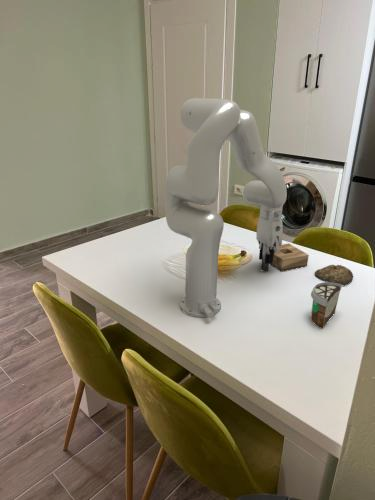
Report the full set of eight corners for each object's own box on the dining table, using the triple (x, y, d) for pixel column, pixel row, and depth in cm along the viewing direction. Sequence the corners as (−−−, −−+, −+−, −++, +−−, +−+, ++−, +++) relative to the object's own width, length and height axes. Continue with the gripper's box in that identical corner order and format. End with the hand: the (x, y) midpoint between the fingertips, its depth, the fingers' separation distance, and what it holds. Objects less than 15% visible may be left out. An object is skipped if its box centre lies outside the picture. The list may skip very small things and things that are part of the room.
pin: (270, 270, 139) (273, 243, 135) (263, 271, 138) (266, 244, 134) (265, 267, 142) (268, 240, 137) (259, 268, 141) (261, 241, 136)
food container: (316, 305, 117) (321, 277, 113) (336, 312, 114) (342, 283, 110) (300, 322, 108) (304, 292, 104) (320, 330, 105) (326, 300, 101)
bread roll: (341, 289, 127) (343, 276, 125) (309, 276, 136) (311, 264, 134) (359, 278, 135) (362, 266, 133) (329, 266, 144) (331, 255, 142)
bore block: (306, 266, 143) (308, 254, 141) (281, 271, 138) (282, 259, 136) (287, 254, 153) (288, 243, 151) (262, 259, 148) (263, 247, 146)
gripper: (294, 219, 126) (287, 268, 133) (266, 206, 139) (261, 251, 147) (275, 222, 123) (270, 272, 130) (249, 208, 137) (245, 254, 144)
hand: (265, 260), depth 138 cm, fingers closed on pin, 3 cm apart
